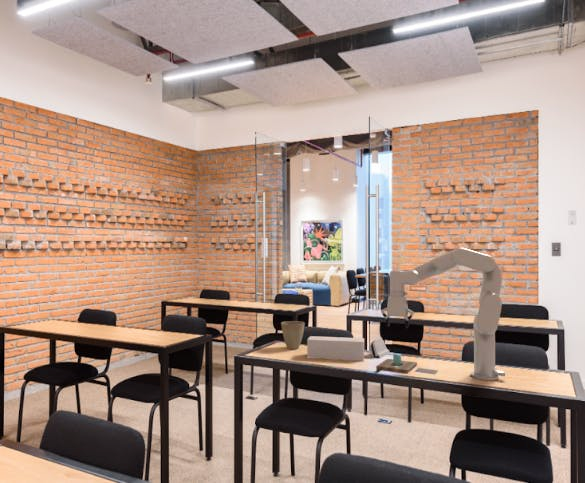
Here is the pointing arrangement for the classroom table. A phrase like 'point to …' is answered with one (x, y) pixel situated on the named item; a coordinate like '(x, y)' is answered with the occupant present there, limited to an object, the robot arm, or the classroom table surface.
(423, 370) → the plate
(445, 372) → the classroom table surface
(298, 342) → the plant pot
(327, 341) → the long grey foam brick
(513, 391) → the classroom table surface
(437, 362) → the classroom table surface
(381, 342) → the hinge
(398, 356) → the peg
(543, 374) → the classroom table surface
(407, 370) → the hole board
